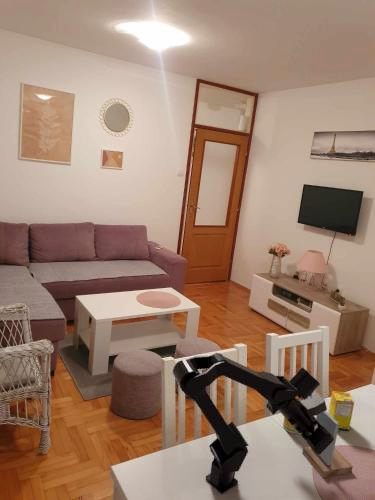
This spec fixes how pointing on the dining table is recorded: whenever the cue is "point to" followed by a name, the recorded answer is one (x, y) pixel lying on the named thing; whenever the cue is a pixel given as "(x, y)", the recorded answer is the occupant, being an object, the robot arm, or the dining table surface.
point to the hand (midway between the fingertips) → (318, 438)
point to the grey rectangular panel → (332, 428)
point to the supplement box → (341, 409)
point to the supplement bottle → (289, 426)
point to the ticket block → (337, 464)
